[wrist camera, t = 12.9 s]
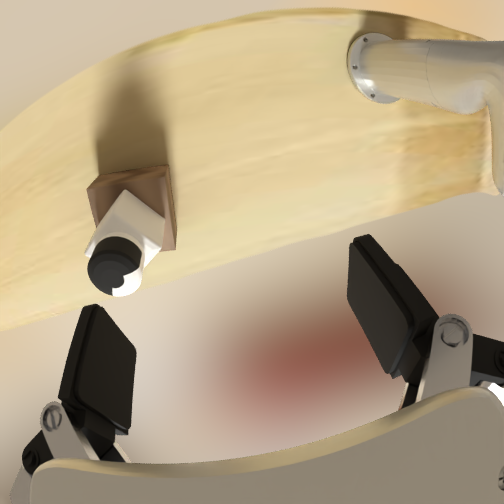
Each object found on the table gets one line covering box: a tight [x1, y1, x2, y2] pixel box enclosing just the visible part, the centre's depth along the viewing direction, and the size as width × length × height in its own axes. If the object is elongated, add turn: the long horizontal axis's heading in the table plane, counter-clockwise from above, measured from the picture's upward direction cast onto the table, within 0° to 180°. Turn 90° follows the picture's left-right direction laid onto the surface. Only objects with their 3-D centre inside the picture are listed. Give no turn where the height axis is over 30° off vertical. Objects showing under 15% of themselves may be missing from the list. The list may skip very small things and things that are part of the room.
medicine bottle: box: [85, 190, 165, 296], centre depth 30 cm, size 7×7×12 cm
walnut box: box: [87, 165, 177, 252], centre depth 37 cm, size 11×11×6 cm
